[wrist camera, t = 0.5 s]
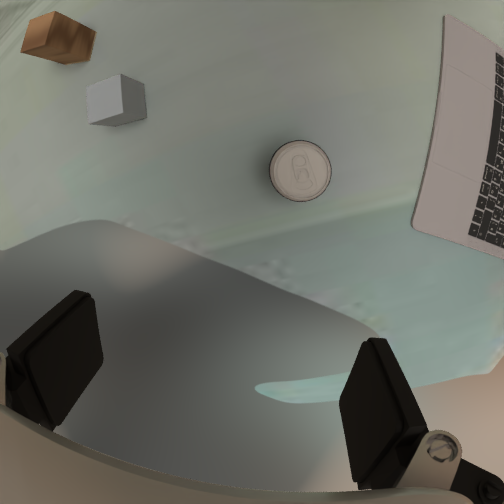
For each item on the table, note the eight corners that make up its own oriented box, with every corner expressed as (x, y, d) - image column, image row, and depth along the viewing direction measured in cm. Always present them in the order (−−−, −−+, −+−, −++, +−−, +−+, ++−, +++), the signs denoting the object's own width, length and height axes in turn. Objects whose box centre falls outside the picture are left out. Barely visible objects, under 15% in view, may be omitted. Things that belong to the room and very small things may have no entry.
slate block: (112, 93, 34) (85, 86, 28) (143, 84, 34) (120, 73, 27) (115, 126, 36) (88, 124, 29) (147, 117, 36) (123, 112, 29)
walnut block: (72, 37, 31) (29, 20, 21) (96, 32, 31) (55, 10, 21) (65, 64, 33) (20, 52, 22) (89, 60, 33) (44, 44, 22)
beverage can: (275, 192, 38) (275, 209, 26) (266, 148, 36) (262, 145, 25) (319, 184, 37) (338, 198, 26) (311, 140, 35) (327, 134, 24)
